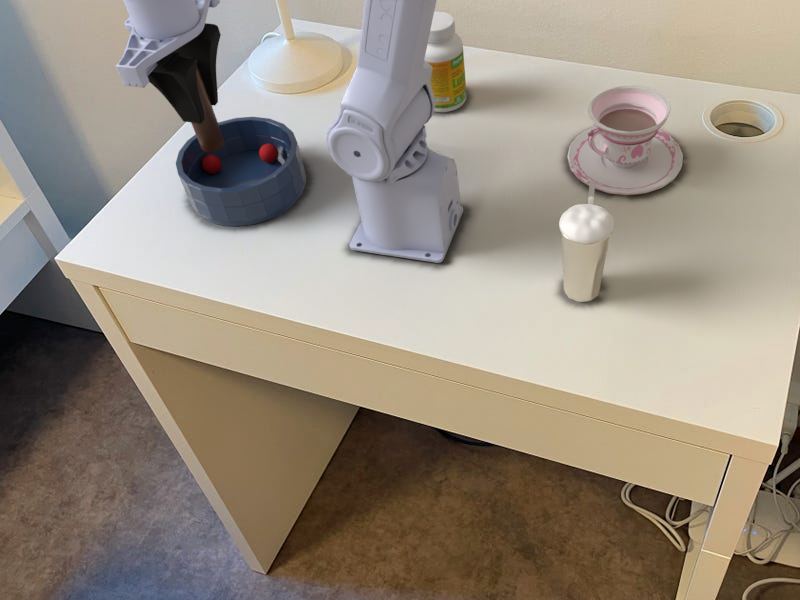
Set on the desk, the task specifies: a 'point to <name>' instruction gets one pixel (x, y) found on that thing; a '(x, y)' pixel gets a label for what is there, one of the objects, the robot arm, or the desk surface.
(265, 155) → the berry
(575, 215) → the milkshake
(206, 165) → the berry
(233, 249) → the desk surface
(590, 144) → the teacup
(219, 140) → the stirring stick
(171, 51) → the robot arm
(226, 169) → the bowl
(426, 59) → the supplement bottle
